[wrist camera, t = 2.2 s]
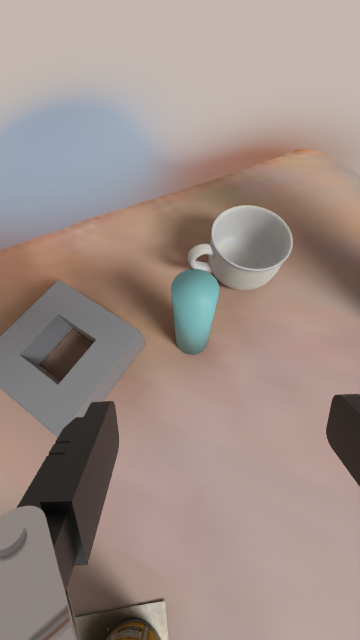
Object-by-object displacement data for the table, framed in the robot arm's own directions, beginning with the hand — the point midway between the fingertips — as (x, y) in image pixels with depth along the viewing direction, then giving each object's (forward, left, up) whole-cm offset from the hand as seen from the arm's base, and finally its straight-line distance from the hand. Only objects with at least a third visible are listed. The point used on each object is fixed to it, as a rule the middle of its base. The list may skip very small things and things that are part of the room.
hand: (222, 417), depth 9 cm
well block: (+1, -19, -22) cm, 29 cm away
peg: (-10, -7, -22) cm, 25 cm away
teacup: (-23, -8, -23) cm, 33 cm away
